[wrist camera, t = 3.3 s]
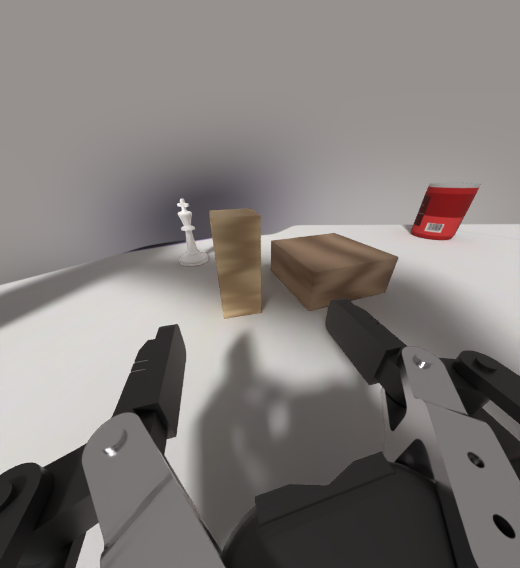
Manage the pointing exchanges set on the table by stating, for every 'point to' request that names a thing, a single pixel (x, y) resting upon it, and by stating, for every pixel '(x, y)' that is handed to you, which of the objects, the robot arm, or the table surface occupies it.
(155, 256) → the table surface
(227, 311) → the oak block
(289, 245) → the walnut block
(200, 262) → the chess piece
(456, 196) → the canned food
